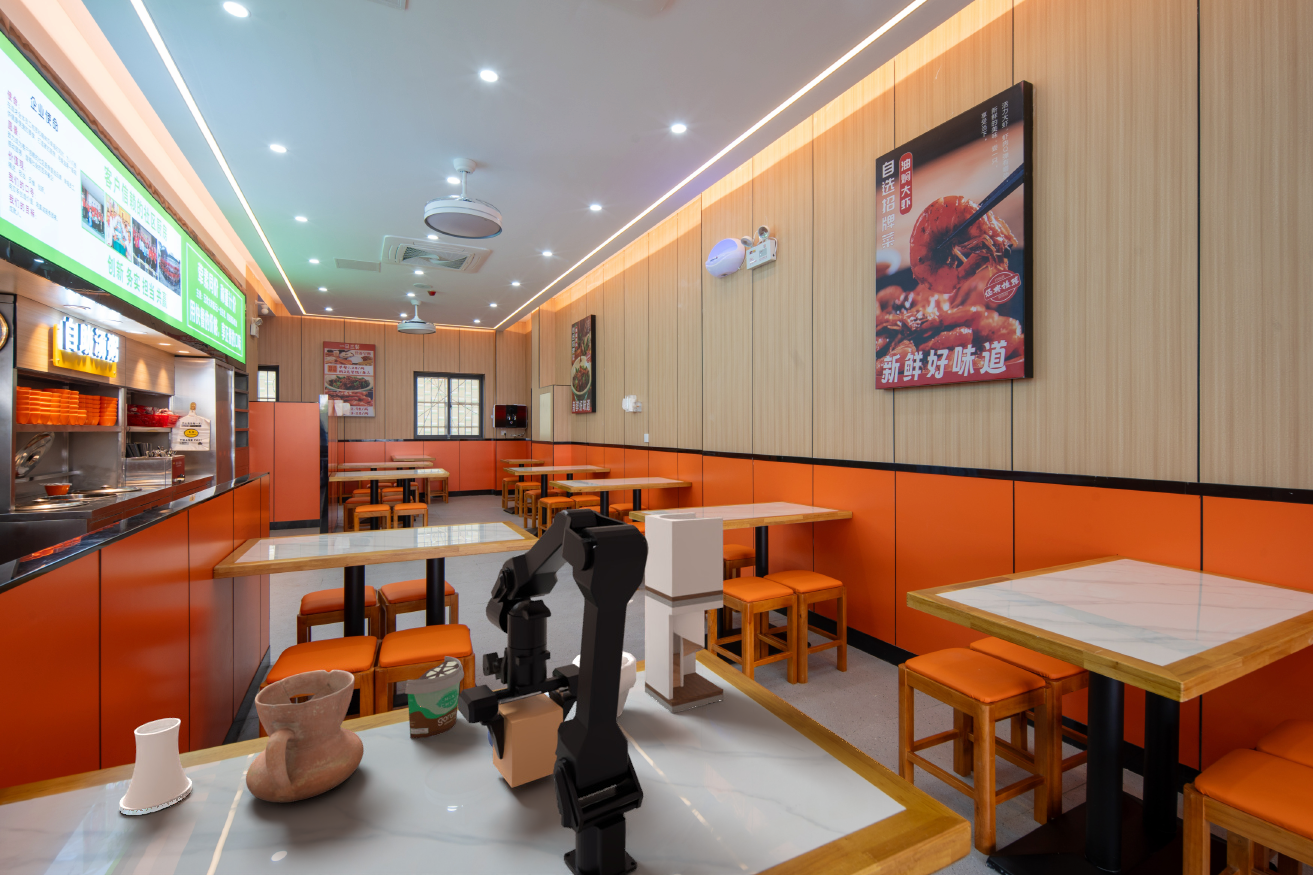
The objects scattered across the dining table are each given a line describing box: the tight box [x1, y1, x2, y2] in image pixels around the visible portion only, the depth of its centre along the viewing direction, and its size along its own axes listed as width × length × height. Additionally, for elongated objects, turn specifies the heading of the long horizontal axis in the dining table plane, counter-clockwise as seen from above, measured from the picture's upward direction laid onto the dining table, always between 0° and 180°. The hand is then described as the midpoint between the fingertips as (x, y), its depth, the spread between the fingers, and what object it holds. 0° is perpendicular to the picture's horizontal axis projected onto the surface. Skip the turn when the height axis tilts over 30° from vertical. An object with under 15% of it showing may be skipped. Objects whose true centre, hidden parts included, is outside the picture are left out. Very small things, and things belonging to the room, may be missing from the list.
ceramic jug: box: [245, 669, 365, 803], centre depth 83 cm, size 18×14×14 cm
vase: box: [119, 717, 193, 812], centre depth 80 cm, size 8×8×10 cm
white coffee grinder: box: [644, 512, 724, 714], centre depth 114 cm, size 11×11×35 cm
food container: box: [404, 655, 465, 739], centre depth 101 cm, size 12×6×10 cm, turn 168°
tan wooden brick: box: [492, 693, 563, 789], centre depth 85 cm, size 8×8×9 cm
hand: (526, 749), depth 86 cm, fingers closed on tan wooden brick, 8 cm apart
